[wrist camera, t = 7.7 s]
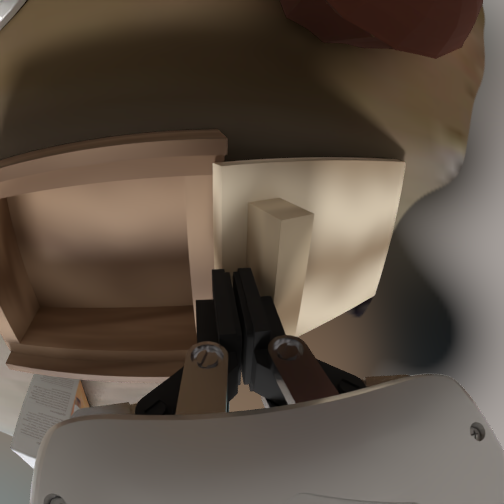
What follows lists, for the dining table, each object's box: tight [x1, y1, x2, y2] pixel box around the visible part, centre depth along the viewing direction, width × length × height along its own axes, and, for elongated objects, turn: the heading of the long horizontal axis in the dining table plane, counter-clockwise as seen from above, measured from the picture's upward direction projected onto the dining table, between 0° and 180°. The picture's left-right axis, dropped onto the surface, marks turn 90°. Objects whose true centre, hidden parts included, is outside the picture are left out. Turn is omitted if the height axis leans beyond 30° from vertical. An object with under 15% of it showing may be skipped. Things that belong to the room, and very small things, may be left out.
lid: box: [213, 157, 406, 337], centre depth 16 cm, size 11×14×3 cm
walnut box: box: [0, 129, 228, 383], centre depth 14 cm, size 13×16×6 cm
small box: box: [11, 374, 89, 469], centre depth 19 cm, size 8×6×10 cm
